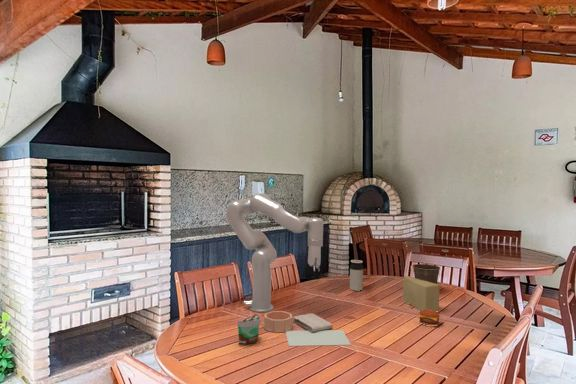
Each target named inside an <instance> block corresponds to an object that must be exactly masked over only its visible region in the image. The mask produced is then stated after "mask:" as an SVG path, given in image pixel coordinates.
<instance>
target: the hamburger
mask: <svg viewBox="0 0 576 384" xmlns="http://www.w3.org/2000/svg"><path fill="white" fill-rule="evenodd" d="M418 314H419V315H418V316H417V318H419V321H418V322H420V323H422V324H425V325H438V324H439V325H440V322H439V321H440V317H441V314H440V313H439V311H438V312H436V311H434V310H430V309H424V310H422V311H420V310H419V313H418ZM420 323H419V324H420ZM422 324H421V325H422Z"/></svg>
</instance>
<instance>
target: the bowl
mask: <svg viewBox="0 0 576 384" xmlns="http://www.w3.org/2000/svg"><path fill="white" fill-rule="evenodd" d="M263 318H264V320H263V321H264V322H263V323H264V324H263V329H264V330H265V331H266V332H270V333H274V334H278V333H279V334H281V333H283V334H284V333H286V331H292V329H293V314H292V313H291V312H289V311H288V312H287V311H284V310H271V311H268V312H264V317H263Z"/></svg>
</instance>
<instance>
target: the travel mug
mask: <svg viewBox="0 0 576 384" xmlns="http://www.w3.org/2000/svg"><path fill="white" fill-rule="evenodd" d="M350 263H351V264H350V265H349V290H350V289H351V291H352V290H355V291H354V292H361V291H363V287H364V285H363V281H364V265H363V263H364V262H363V260H359V259H351V260H350ZM360 290H361V291H360Z"/></svg>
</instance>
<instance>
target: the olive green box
mask: <svg viewBox="0 0 576 384" xmlns="http://www.w3.org/2000/svg"><path fill="white" fill-rule="evenodd" d="M403 301H405V302H407V303H409V304H411V305H413V306H414V307H413V306H412V307H413V308H415V307H416V308H415V309H417V308H418V309H417V310H419V309H420V310H424V309H430V310H434V311H438V310H439V311H440V284H439V283H437V284H435V283H431V282H428V281H423V280H420V279H416V278H415V277H412V276H409V275H405V276H404V277H403V284H402V302H403ZM405 302H404V303H405ZM407 303H406V304H407ZM409 304H408V305H409ZM411 305H410V306H411ZM420 310H419V311H420ZM439 311H438V312H439Z"/></svg>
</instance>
